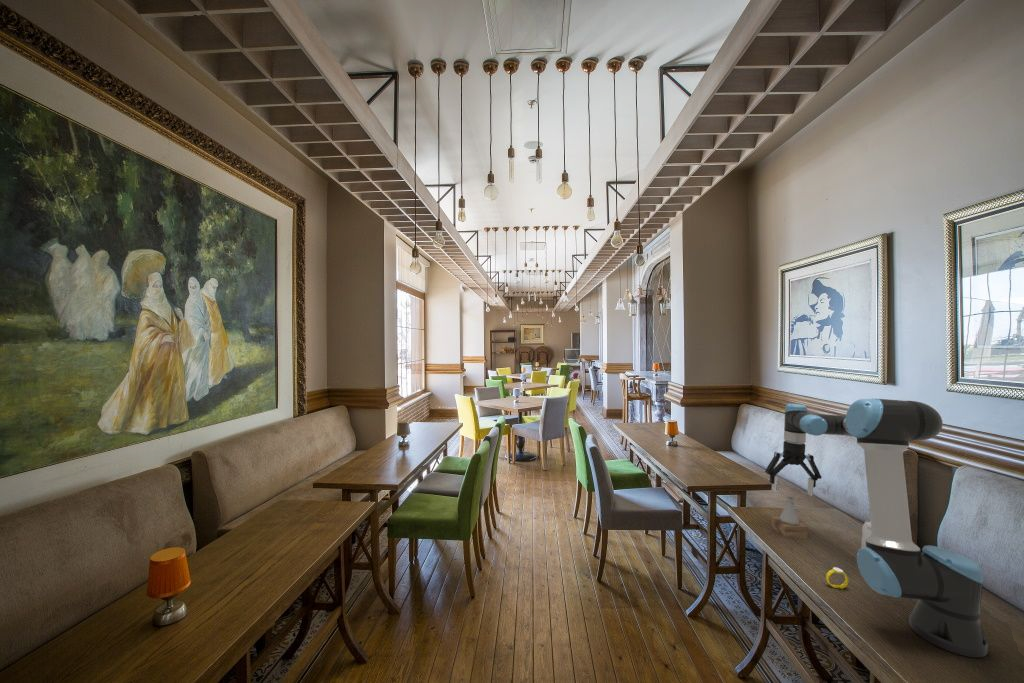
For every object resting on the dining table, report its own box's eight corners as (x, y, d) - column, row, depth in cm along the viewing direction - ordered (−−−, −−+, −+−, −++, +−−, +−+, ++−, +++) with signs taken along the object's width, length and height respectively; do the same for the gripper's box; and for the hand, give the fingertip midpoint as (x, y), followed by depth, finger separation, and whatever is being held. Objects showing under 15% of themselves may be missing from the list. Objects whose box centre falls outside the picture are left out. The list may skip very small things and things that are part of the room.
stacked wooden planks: (806, 539, 172) (807, 527, 172) (784, 538, 172) (785, 526, 172) (792, 528, 181) (793, 517, 181) (771, 527, 181) (771, 516, 181)
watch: (843, 586, 140) (846, 569, 140) (848, 591, 137) (851, 573, 137) (823, 582, 141) (826, 565, 141) (828, 587, 138) (830, 570, 138)
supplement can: (892, 576, 147) (895, 533, 146) (862, 568, 151) (864, 526, 150) (887, 565, 154) (890, 524, 153) (858, 557, 158) (860, 518, 157)
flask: (779, 523, 175) (780, 499, 174) (778, 516, 181) (779, 493, 180) (800, 527, 171) (802, 503, 171) (798, 520, 178) (799, 496, 177)
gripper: (823, 441, 176) (820, 492, 177) (757, 437, 180) (755, 486, 181) (833, 446, 169) (830, 499, 169) (765, 441, 173) (762, 493, 173)
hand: (791, 493), depth 175 cm, fingers open, 13 cm apart
